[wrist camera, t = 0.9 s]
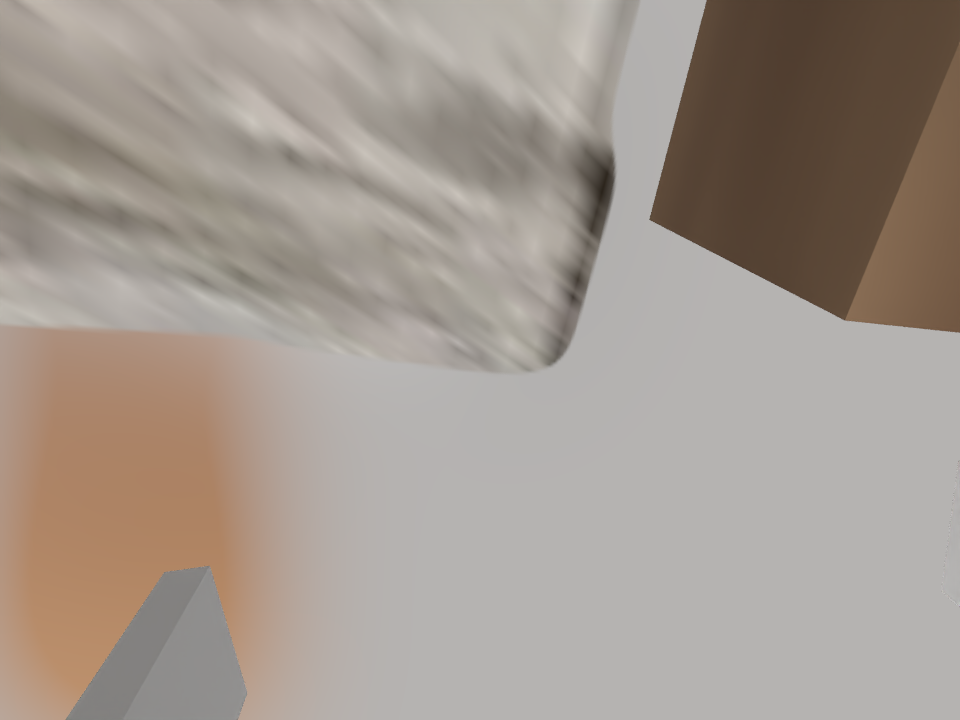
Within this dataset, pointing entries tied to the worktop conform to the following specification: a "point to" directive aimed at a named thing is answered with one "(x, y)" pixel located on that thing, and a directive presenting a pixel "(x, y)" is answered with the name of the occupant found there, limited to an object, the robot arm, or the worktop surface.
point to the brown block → (826, 153)
